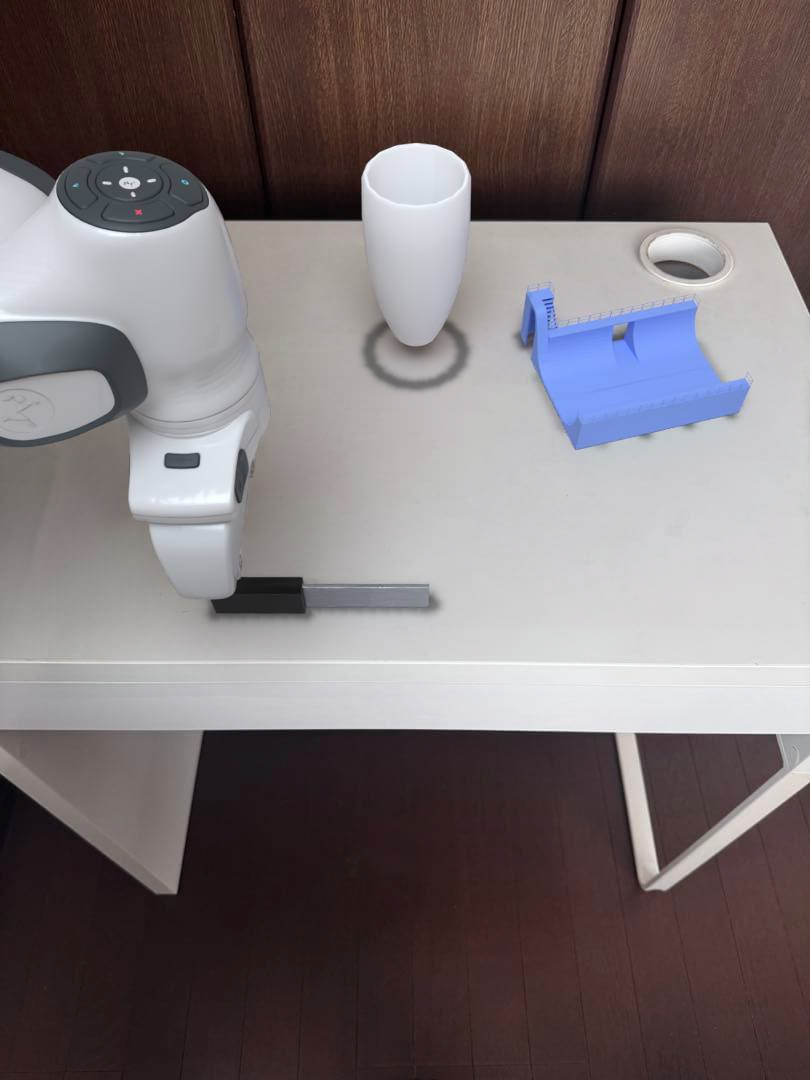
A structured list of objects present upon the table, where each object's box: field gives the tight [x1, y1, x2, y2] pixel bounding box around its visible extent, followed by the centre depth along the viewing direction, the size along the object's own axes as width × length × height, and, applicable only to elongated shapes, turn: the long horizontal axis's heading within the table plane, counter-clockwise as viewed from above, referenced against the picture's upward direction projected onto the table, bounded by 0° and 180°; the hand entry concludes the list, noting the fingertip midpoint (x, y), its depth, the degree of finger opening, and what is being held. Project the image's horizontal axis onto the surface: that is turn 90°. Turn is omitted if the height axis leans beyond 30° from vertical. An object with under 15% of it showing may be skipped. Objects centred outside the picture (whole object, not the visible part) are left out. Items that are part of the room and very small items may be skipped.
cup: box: [361, 142, 472, 347], centre depth 86 cm, size 10×10×22 cm
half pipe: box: [519, 281, 754, 451], centre depth 90 cm, size 18×16×7 cm
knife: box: [209, 576, 430, 615], centre depth 77 cm, size 19×2×4 cm, turn 90°
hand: (237, 519), depth 68 cm, fingers open, 8 cm apart
